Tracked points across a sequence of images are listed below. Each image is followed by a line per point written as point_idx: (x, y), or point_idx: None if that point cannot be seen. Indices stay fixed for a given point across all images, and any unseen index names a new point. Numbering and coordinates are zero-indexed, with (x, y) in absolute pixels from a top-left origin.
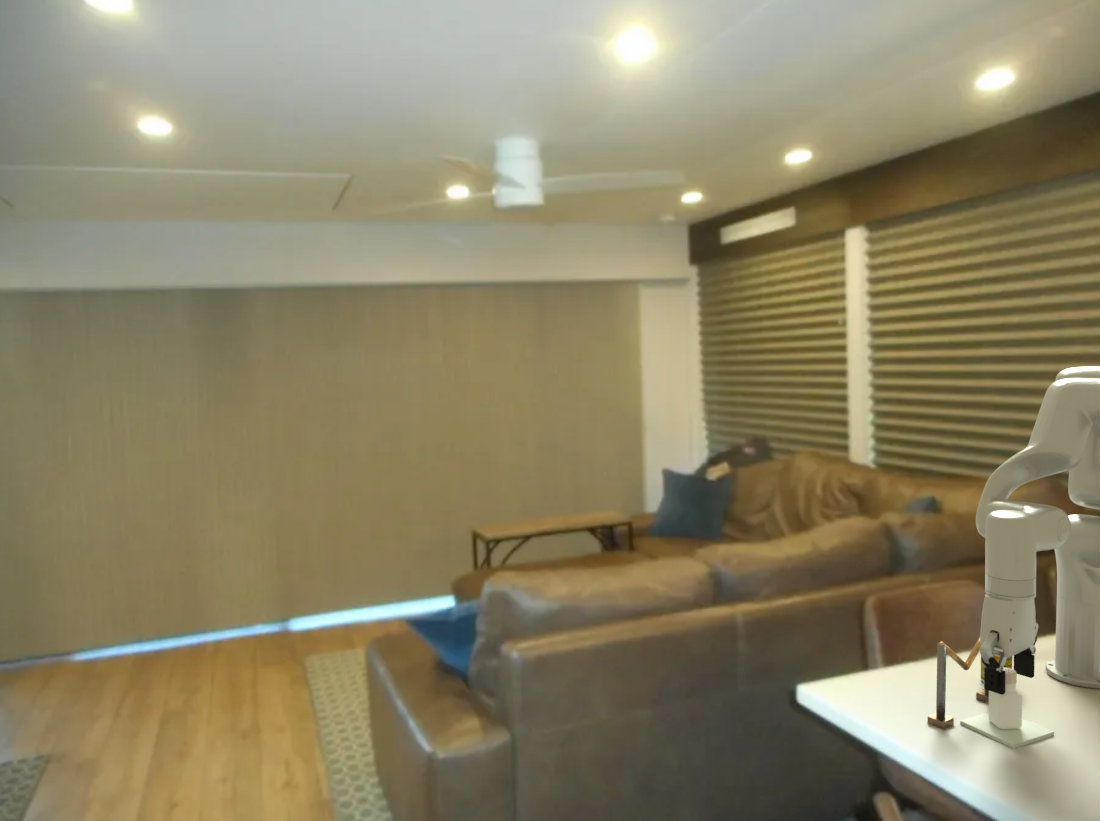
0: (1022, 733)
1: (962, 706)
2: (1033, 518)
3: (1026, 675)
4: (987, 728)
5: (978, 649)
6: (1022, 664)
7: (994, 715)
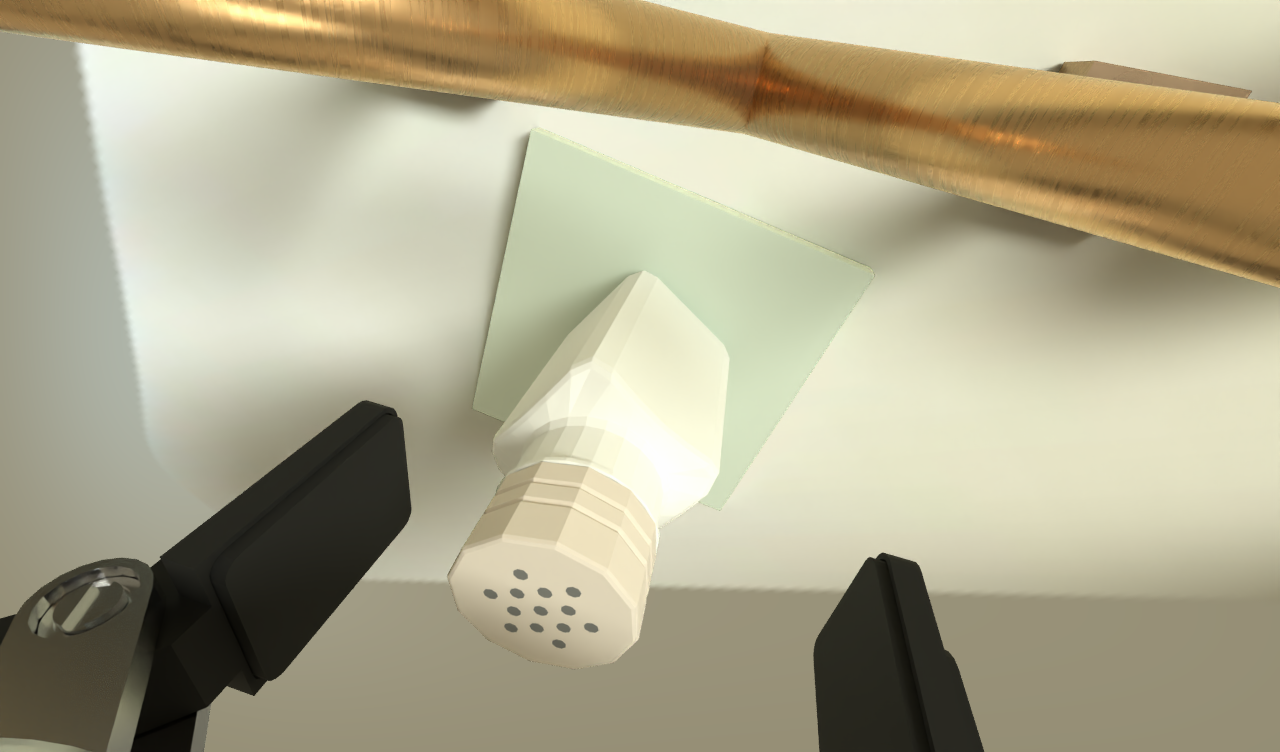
0: None
1: (842, 25)
2: None
3: (829, 628)
4: (545, 285)
5: (1198, 260)
6: (850, 707)
7: (574, 333)
